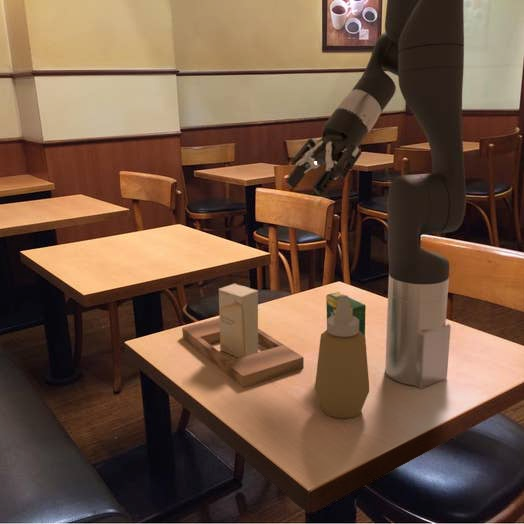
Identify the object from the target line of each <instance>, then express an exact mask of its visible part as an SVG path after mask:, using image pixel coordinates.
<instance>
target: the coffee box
mask: <svg viewBox="0 0 524 524" xmlns="http://www.w3.org/2000/svg"><path fill="white" fill-rule="evenodd" d="M340 295H345V294H344V293H341V292H339V291H338V292H333V293H328V294H326V296H325V298H326V300H325V301H326V304H325V305H326V320H327V319H328V318H329V317H330V316H333V315H335V312H336V308H337V304H338V300H339V296H340ZM348 300H349V305H350V310H351V315H352V316H354V317H356V318H358V319H359V331H360V332H361V333H362V334H363V335H364V336H365V337H366V309H367V308H366V306H367V305H366V304H363V303H362V302H360V301H358V300H355V299H354V298H351V297H349V296H348Z"/></svg>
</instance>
